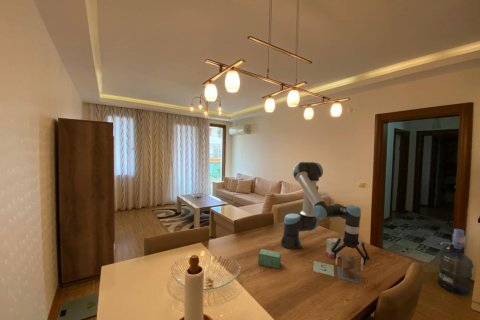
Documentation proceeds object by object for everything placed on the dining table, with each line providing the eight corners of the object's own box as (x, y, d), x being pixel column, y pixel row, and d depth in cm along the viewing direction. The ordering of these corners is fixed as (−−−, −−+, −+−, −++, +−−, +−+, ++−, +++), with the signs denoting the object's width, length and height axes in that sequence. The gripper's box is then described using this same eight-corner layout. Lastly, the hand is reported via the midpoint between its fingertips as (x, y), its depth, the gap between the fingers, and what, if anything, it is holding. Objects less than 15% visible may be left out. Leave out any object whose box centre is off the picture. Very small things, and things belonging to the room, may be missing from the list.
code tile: (312, 271, 129) (312, 270, 129) (313, 261, 141) (313, 260, 141) (334, 276, 125) (334, 276, 125) (333, 265, 137) (333, 265, 137)
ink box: (330, 258, 146) (331, 241, 145) (325, 255, 150) (326, 238, 150) (340, 257, 148) (341, 240, 148) (335, 253, 153) (336, 237, 152)
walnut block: (342, 276, 125) (343, 259, 124) (341, 270, 131) (342, 254, 131) (355, 279, 122) (357, 262, 122) (354, 272, 129) (355, 256, 128)
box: (279, 269, 130) (280, 257, 129) (257, 265, 133) (258, 253, 133) (280, 263, 137) (281, 252, 136) (260, 259, 140) (260, 248, 140)
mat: (338, 278, 123) (338, 278, 123) (336, 266, 136) (336, 266, 136) (361, 284, 118) (361, 283, 118) (358, 271, 131) (358, 271, 131)
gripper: (329, 230, 127) (326, 264, 128) (377, 238, 117) (374, 275, 119) (328, 225, 134) (326, 258, 135) (374, 233, 124) (371, 268, 126)
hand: (348, 266), depth 127 cm, fingers open, 13 cm apart
